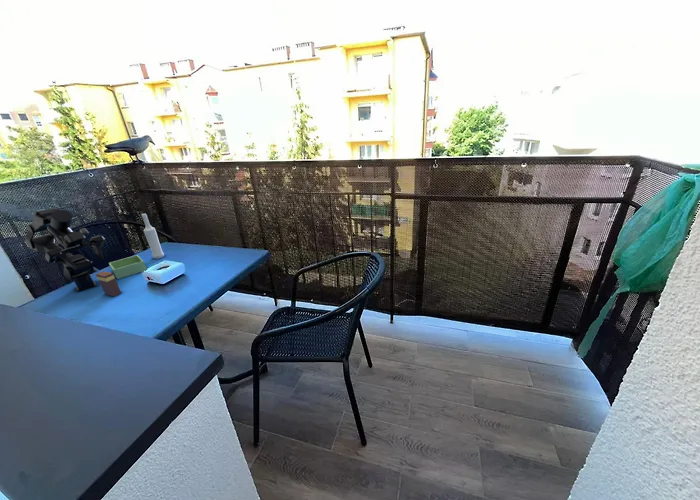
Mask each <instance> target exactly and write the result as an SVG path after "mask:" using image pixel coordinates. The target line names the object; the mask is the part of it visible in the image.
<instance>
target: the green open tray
mask: <svg viewBox="0 0 700 500" xmlns="http://www.w3.org/2000/svg"><path fill="white" fill-rule="evenodd" d="M108 265H109V267H110V268H109V269H110V270H111V273H113V275H114V277H115V279H116V280H119V279H123V278H126V277H130V276H133V275H135V274H138V273H141V272H145V271H147V270H146V269H147V266H146V263H145V261H144V260H143V259H142V257H140V256H139V254H136V255H135V254H134V255H132V256H128V257H125V258H121V259H118V260H114V261H110V262H108ZM144 270H145V271H144Z"/></svg>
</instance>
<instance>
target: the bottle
mask: <svg viewBox="0 0 700 500" xmlns="http://www.w3.org/2000/svg"><path fill="white" fill-rule="evenodd" d="M141 217H142V220H143V223H144V225H145V227H144V229H143V233H144V236H145V238H146V241H147V244H148V246H149V248H150V251H151V254H152V257H153V259H155V260H159V259H162V258H164V257H165V253H164V252H163V249H162V247H161V243H160V240H159V237H158V233H157V231H156V227H153V226H152V225H151V224H150V221H149V218H148V215H147V213H142V214H141Z"/></svg>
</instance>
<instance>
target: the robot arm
mask: <svg viewBox="0 0 700 500" xmlns="http://www.w3.org/2000/svg"><path fill="white" fill-rule="evenodd" d="M32 218H33V219H34V220H33V221H31V223H28V225H26V228H27V232H26V234H25V236H24V239H25V242H26V244H27V246H28V247H29V249H30V250H33V251H35V252H38V253H45V254H44V255H45V256H44V259H45V260H46V262H47V263H54V264H57V263H58V264H62V265H63V276H64V278H66V279H67V280H70V281H73V282H74V284H75V288H76V291H77V292H81V291H84V290H88V289H90V288H93V287H96V286H97V283H96V280H93V278H92V276H91V274H90V273H93V272H95V269H94V265H93V261H91V260H90V259H87V258H86V256H83V255H82V254H80V253H78V254H74V255H73V254H72V252H77V251H80V250H82V249H85V248H88V247H90V248H92V251H93V252H94V253H95V254H96V255H97V256H98V258H100V259H101V260H102V261H103V260H105V258H104V254H103V251H102V246H104V244H105V241H106V238H105V237H104V235H99V234H98V235H95V236H92V237H90V238H89V241H86V242H85V239H86V237H87V236H89V235H90V232H89V231H88V230H87V228H85V227H82V228H79V229H78V230H77V231H73V230H72V228H71V225H72V221H73V215H72V214H71V212H69V211H67V210H64V209H61V208H59V207H53V208H52V207H51V208H47V209H42V210H38V211H34V212H33V217H32ZM44 231H46V232H47V234H43V235H39V236H35V235H36V233H39V232H44ZM57 241H58V244H59V245H61V246H63V247H61V246H59V245H58V244H57Z"/></svg>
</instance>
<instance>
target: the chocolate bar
mask: <svg viewBox="0 0 700 500" xmlns="http://www.w3.org/2000/svg"><path fill="white" fill-rule="evenodd" d="M95 276H96V279H97V280H98V283H99V284H100V286H101V288H102V291H103V292H104V295H107V296H110V297H116V296H119V295H120V294H122V291H121V289H120V287H119V285H118V281H117V279H116V277H115V275H114V273H113V272H111V271H110V272H109V271H106V270H103V271H101V272H100V271H99V272H98V273H96V274H95Z"/></svg>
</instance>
